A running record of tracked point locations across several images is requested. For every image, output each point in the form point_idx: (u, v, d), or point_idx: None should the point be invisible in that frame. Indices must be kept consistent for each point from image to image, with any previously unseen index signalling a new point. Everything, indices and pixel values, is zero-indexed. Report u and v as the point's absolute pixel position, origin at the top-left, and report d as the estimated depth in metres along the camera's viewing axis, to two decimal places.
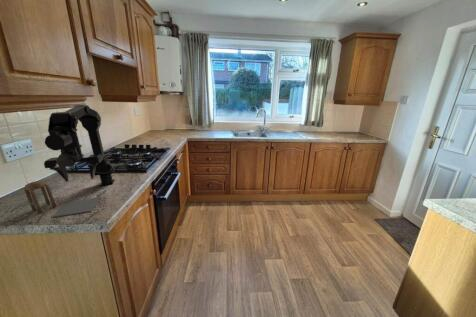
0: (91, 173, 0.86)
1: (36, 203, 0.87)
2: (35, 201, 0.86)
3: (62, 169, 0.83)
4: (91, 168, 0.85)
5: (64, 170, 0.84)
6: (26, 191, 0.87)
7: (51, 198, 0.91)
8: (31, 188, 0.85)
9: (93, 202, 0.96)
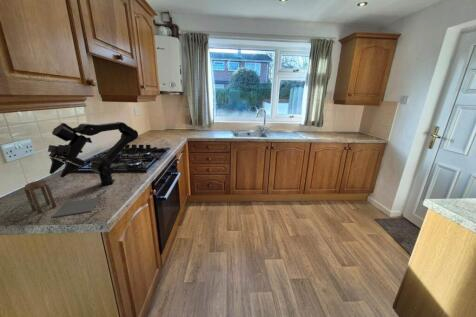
0: (63, 171, 0.92)
1: (36, 203, 0.87)
2: (35, 201, 0.86)
3: (56, 163, 0.97)
4: (66, 166, 0.92)
5: (57, 165, 0.98)
6: (26, 191, 0.87)
7: (51, 198, 0.91)
8: (31, 188, 0.85)
9: (93, 202, 0.96)
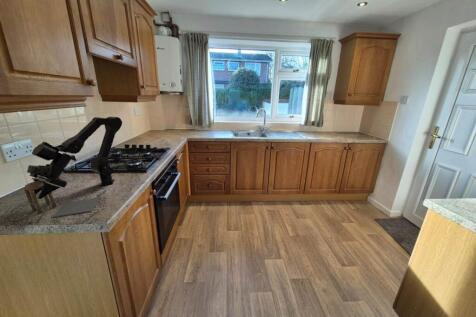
0: (41, 192, 0.87)
1: (36, 203, 0.87)
2: (35, 201, 0.86)
3: None
4: (44, 187, 0.87)
5: None
6: (26, 191, 0.87)
7: (51, 198, 0.91)
8: (31, 188, 0.85)
9: (93, 202, 0.96)
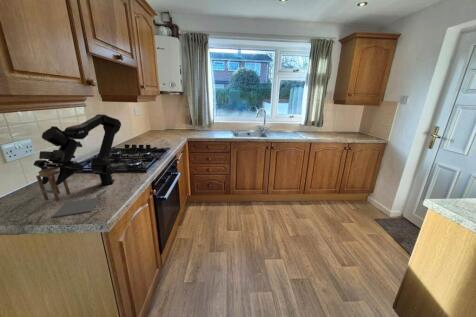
0: (58, 178, 0.85)
1: (54, 189, 0.84)
2: (53, 187, 0.83)
3: None
4: (61, 172, 0.85)
5: None
6: (39, 179, 0.83)
7: (66, 184, 0.89)
8: (48, 174, 0.82)
9: (93, 202, 0.96)
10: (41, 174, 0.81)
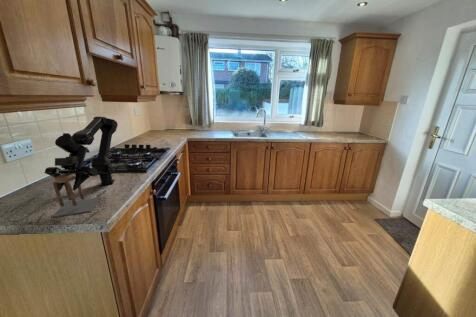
0: (75, 183, 0.87)
1: (72, 195, 0.86)
2: (71, 193, 0.85)
3: None
4: (77, 177, 0.87)
5: None
6: (55, 185, 0.84)
7: (81, 189, 0.91)
8: (66, 180, 0.84)
9: (93, 202, 0.96)
10: (59, 180, 0.83)
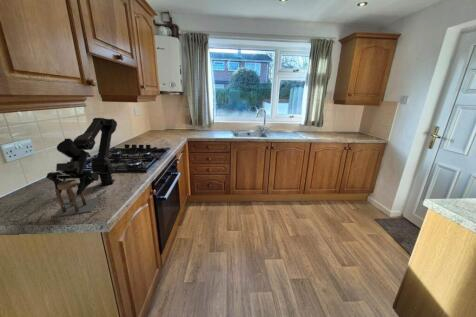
0: (79, 188, 0.87)
1: (75, 201, 0.87)
2: (74, 199, 0.86)
3: None
4: (81, 182, 0.88)
5: None
6: (58, 192, 0.85)
7: (83, 195, 0.92)
8: (69, 187, 0.85)
9: (93, 202, 0.96)
10: (61, 187, 0.84)
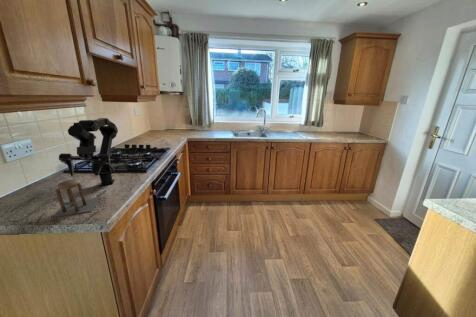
0: (98, 169, 0.96)
1: (75, 201, 0.87)
2: (74, 199, 0.87)
3: (72, 164, 0.93)
4: (99, 164, 0.97)
5: (72, 166, 0.93)
6: (58, 192, 0.85)
7: (83, 195, 0.92)
8: (69, 187, 0.85)
9: (93, 202, 0.96)
10: (62, 187, 0.84)
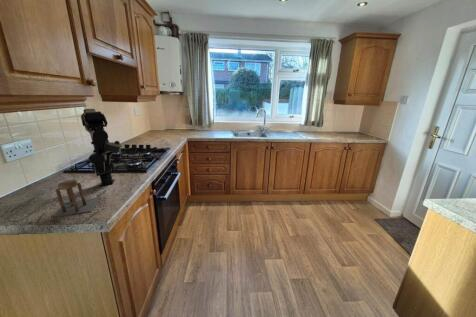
0: (109, 160, 1.06)
1: (75, 201, 0.87)
2: (74, 199, 0.87)
3: None
4: (110, 155, 1.06)
5: None
6: (58, 192, 0.85)
7: (83, 195, 0.92)
8: (69, 187, 0.85)
9: (93, 202, 0.96)
10: (62, 187, 0.84)
